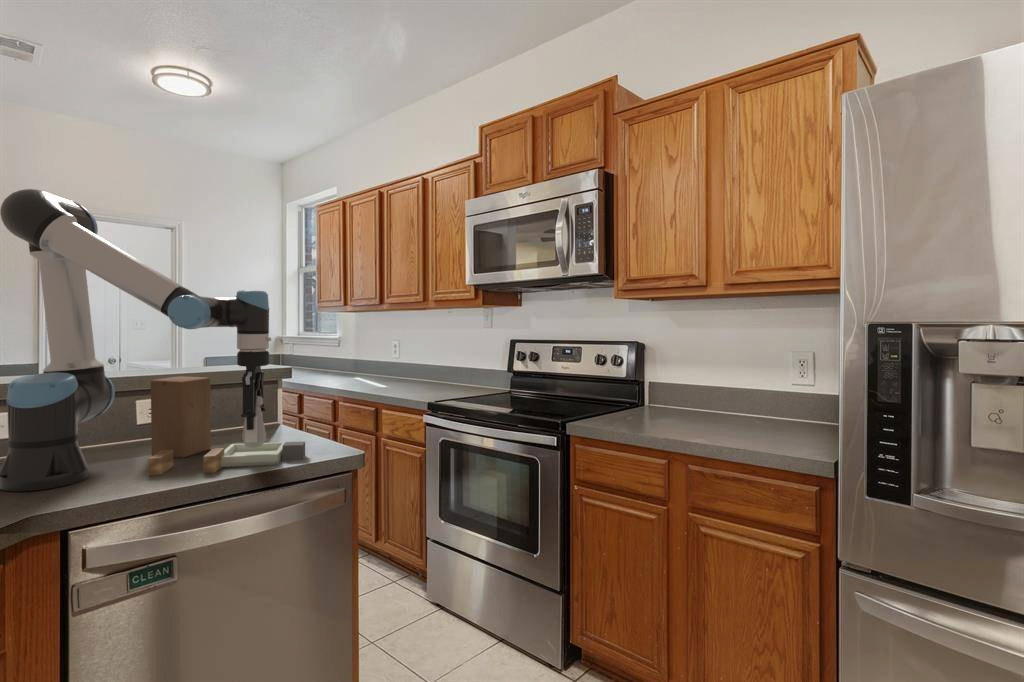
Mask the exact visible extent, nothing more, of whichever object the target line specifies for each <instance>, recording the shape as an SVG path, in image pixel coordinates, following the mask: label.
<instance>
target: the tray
mask: <svg viewBox="0 0 1024 682" xmlns="http://www.w3.org/2000/svg"><path fill="white" fill-rule="evenodd" d="M284 443H285V441H281V442H279V441H277V442H264V443H263V445H262V446H261V447H256V448H247V447H245V445H244V443H231V444H229V446H227V447H226V448H224V455H223V456H222V457H221V468H226V467H227V468H230V467H231V466H232V467H249V466H250V467H251V466H254V467H255V466H275V465H276V466H277V465H279V464H280V462H281V460H283V444H284Z"/></svg>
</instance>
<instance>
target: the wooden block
mask: <svg viewBox="0 0 1024 682" xmlns="http://www.w3.org/2000/svg"><path fill="white" fill-rule="evenodd" d="M211 414H212V412H211V378H210V377H207V376H206V377H203V376H186V375H185V376H183V375H180V376H171V377H164V378H157V379H155V378H154V379H152V380H150V422H151V426H150V427H151V429H150V432H151V434H150V435H151V456H153V455H155V454H157V453H158V452H160V451H161V450H173V458H187V457H190V456H193V455H195V454H196V455H197V454H200V453H202V452H206V451H208V450H212V449H211V448H212V445H211V444H212V435H211V434H212V433H211V429H212V427H211V426H212V425H211V424H212V423H211V421H212V419H211Z"/></svg>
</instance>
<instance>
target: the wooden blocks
mask: <svg viewBox="0 0 1024 682" xmlns="http://www.w3.org/2000/svg"><path fill="white" fill-rule="evenodd" d="M224 450H225V447H221V448H220V447H215V448H212V449H210V451H208V452H207V453H206V454H204V456H203V474H210V473H211V474H216V472H218V470H220V469H221V468H222V467H221V457H222V456H223V455H224ZM173 466H174V457H173V450H161V451H160V452H158V453H157V454H155V455H151V456H150V457H149V458H148V476H162V475H164V473H166V472H167V471H168V470H170V469H172V468H173Z"/></svg>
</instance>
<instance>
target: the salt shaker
mask: <svg viewBox="0 0 1024 682" xmlns="http://www.w3.org/2000/svg"><path fill="white" fill-rule="evenodd" d="M262 404H263V398H262V397H260V396H257V402H256V416H257V442H245V421H244V422H243V428H242V435H241V440H242V443H243V444H244V445H245V447H247V448H256V447H261V446H262V445H263V443H265V441H266V439H267V432H266V427H265V423H264V419H263V412H262V411H261V408H260V405H262ZM261 412H262V413H261Z"/></svg>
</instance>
